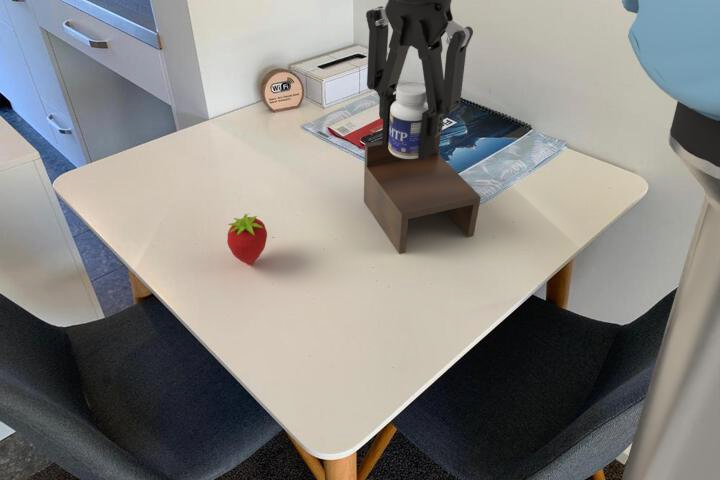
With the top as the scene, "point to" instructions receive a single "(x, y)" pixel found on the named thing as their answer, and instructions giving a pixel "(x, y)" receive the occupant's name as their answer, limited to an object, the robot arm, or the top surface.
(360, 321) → the top surface
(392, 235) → the shelf
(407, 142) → the pill bottle
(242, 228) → the strawberry
